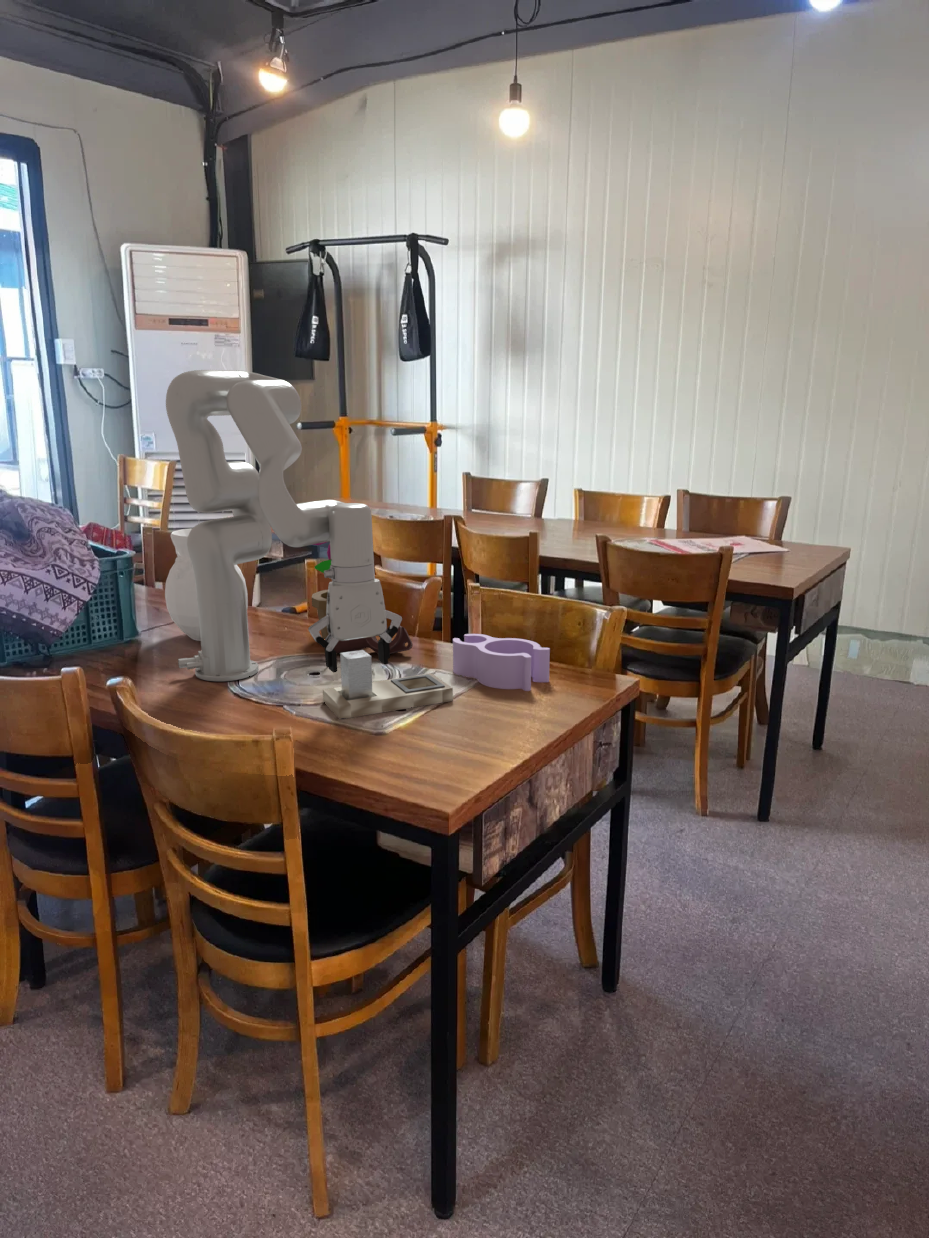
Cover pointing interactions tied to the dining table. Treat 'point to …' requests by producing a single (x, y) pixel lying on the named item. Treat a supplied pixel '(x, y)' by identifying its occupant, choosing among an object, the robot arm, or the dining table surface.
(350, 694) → the peg
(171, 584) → the pitcher
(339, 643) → the bracket
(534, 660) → the clip
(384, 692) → the pegboard
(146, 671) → the dining table surface
